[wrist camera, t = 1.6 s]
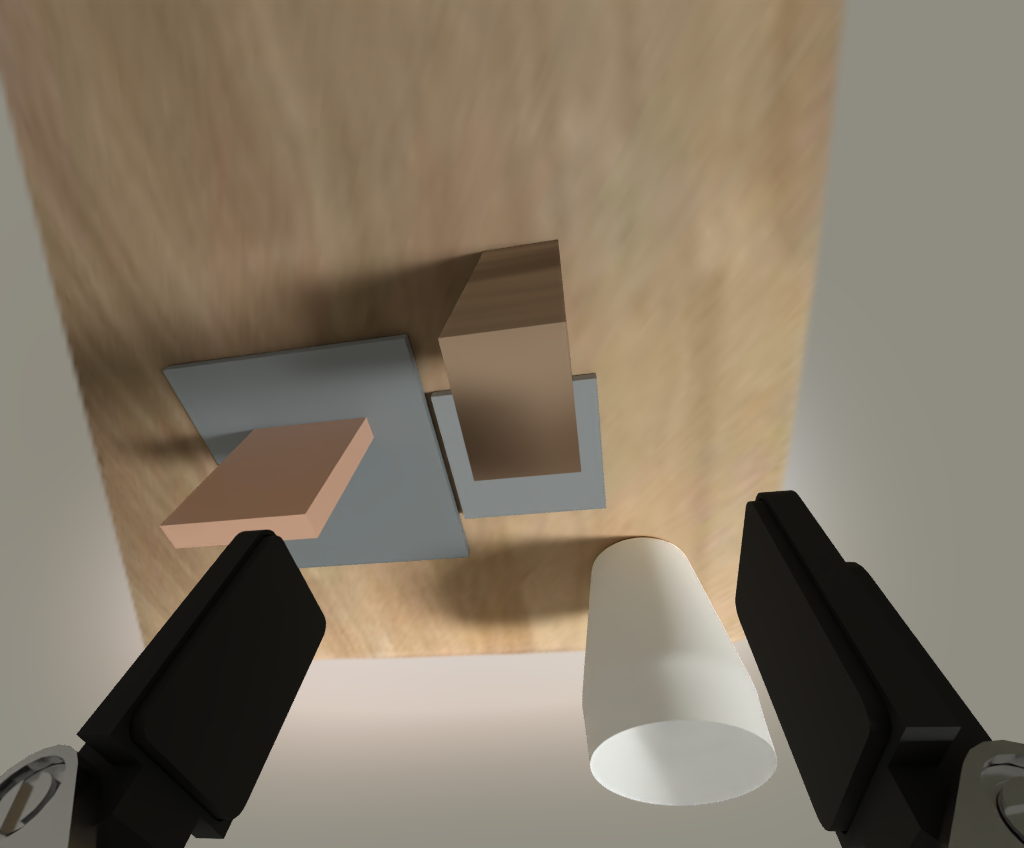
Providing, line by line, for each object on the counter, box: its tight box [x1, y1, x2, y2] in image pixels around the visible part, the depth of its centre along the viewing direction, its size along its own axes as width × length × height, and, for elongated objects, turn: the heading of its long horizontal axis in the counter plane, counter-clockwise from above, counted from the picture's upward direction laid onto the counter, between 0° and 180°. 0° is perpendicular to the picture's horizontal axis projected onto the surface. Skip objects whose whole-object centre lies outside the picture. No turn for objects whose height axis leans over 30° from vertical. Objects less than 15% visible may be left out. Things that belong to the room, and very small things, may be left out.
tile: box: [160, 417, 374, 548], centre depth 24 cm, size 2×7×8 cm, turn 99°
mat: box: [162, 334, 470, 568], centre depth 29 cm, size 16×14×1 cm
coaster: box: [431, 373, 606, 519], centre depth 28 cm, size 9×9×1 cm
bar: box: [438, 240, 581, 481], centre depth 19 cm, size 5×4×11 cm
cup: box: [583, 538, 777, 806], centre depth 28 cm, size 9×9×12 cm
